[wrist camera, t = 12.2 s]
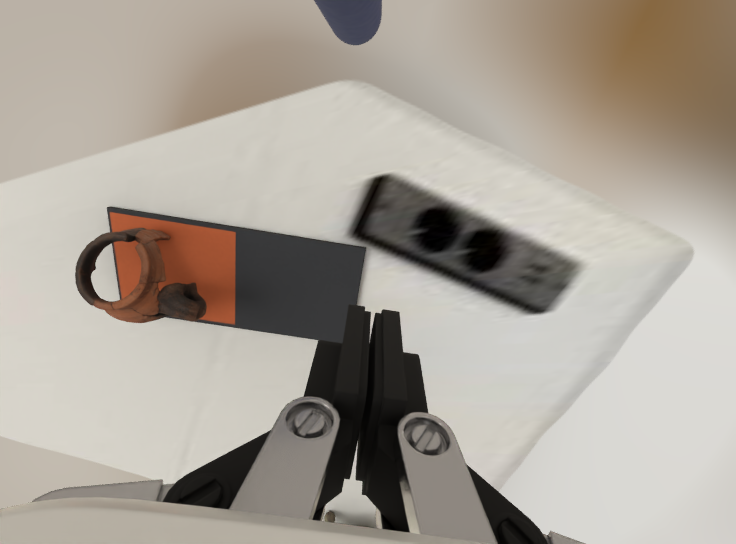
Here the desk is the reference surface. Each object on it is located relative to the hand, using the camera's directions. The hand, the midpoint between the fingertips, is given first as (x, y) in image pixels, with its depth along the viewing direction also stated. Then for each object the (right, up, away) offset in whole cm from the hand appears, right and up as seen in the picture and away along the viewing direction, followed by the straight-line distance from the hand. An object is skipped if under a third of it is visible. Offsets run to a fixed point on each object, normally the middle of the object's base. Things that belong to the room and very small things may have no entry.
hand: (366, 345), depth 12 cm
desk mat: (-14, +2, +27) cm, 31 cm away
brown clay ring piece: (-21, +2, +27) cm, 34 cm away
